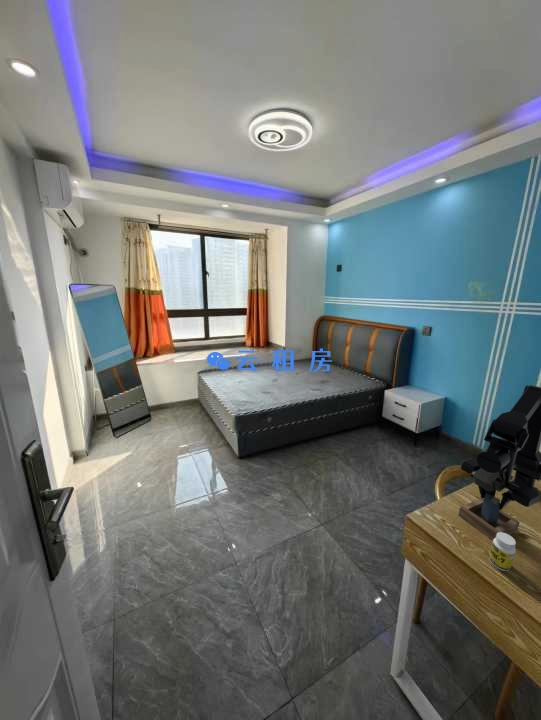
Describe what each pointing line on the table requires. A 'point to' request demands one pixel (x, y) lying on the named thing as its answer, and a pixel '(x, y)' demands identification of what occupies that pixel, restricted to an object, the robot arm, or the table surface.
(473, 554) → the table surface
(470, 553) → the table surface
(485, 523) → the socket block
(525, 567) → the table surface
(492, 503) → the vaping device
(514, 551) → the supplement bottle
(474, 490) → the table surface
